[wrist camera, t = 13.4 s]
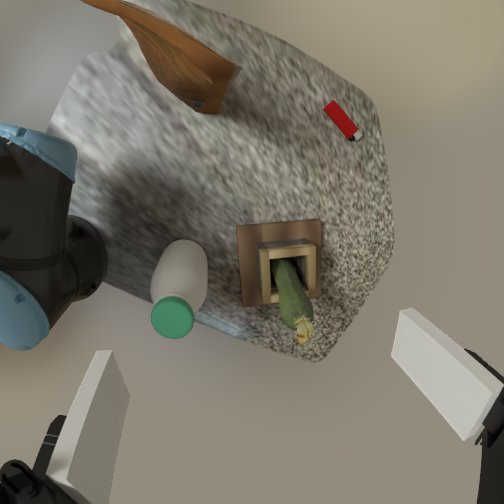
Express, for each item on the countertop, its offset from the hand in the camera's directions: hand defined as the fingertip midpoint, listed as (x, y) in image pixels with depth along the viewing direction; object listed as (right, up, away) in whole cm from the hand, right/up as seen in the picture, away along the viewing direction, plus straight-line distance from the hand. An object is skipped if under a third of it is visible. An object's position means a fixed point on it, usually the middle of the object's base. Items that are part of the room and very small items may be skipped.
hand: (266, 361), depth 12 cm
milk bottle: (-12, +3, +36) cm, 38 cm away
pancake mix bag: (-12, +31, +28) cm, 43 cm away
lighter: (+15, +27, +34) cm, 46 cm away
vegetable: (+4, +3, +39) cm, 39 cm away
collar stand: (+4, +3, +38) cm, 39 cm away
